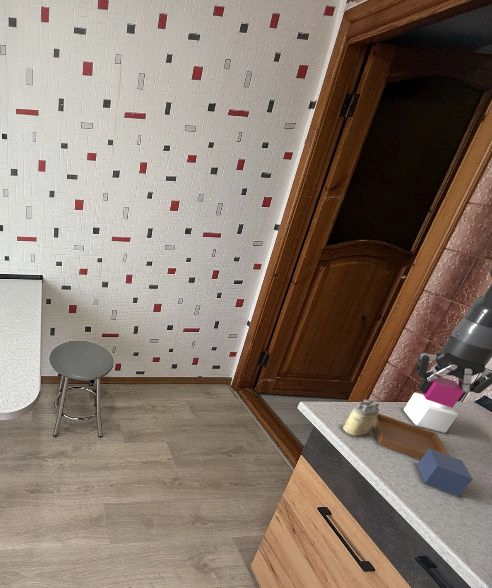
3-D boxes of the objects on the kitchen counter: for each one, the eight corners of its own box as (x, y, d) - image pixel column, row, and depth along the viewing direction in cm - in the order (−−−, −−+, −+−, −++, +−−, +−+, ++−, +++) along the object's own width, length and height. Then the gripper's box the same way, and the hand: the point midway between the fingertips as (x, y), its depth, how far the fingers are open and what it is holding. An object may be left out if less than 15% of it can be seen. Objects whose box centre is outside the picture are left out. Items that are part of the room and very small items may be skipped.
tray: (433, 438, 92) (436, 433, 92) (449, 470, 83) (454, 465, 82) (370, 416, 99) (373, 411, 98) (378, 444, 89) (382, 438, 88)
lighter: (357, 423, 95) (373, 396, 91) (371, 434, 92) (388, 406, 88) (339, 427, 94) (354, 400, 89) (352, 438, 90) (368, 410, 86)
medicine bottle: (445, 433, 95) (469, 401, 90) (415, 426, 97) (437, 393, 92) (430, 416, 101) (451, 385, 96) (402, 409, 103) (421, 378, 98)
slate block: (448, 477, 81) (462, 460, 78) (458, 496, 76) (473, 479, 74) (416, 465, 84) (428, 448, 81) (424, 483, 79) (437, 465, 76)
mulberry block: (444, 396, 85) (455, 381, 83) (452, 408, 81) (463, 392, 79) (419, 388, 88) (429, 373, 86) (425, 399, 84) (436, 383, 82)
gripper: (510, 343, 77) (468, 399, 84) (429, 323, 84) (396, 377, 90) (528, 358, 71) (482, 417, 78) (439, 335, 78) (404, 392, 84)
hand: (436, 395), depth 84 cm, fingers closed on mulberry block, 5 cm apart
